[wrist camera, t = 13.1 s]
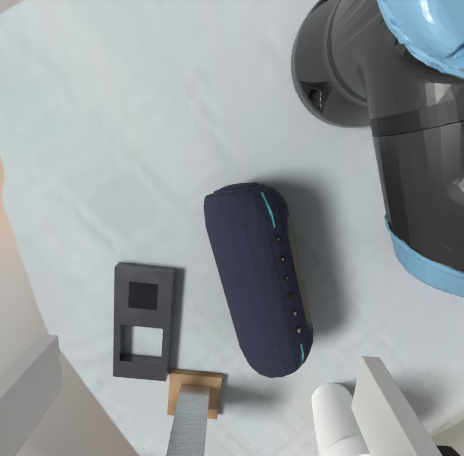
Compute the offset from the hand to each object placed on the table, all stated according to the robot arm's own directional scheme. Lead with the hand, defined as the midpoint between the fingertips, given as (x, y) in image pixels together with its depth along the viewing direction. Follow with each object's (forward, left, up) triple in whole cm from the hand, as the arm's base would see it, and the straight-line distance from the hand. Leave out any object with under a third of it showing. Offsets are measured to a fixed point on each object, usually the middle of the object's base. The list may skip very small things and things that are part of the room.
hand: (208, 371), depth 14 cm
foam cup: (-20, +29, -30) cm, 46 cm away
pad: (+2, +30, -30) cm, 42 cm away
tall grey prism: (+1, +30, -29) cm, 41 cm away
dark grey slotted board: (+10, +18, -30) cm, 36 cm away
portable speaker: (-6, +7, -30) cm, 31 cm away
